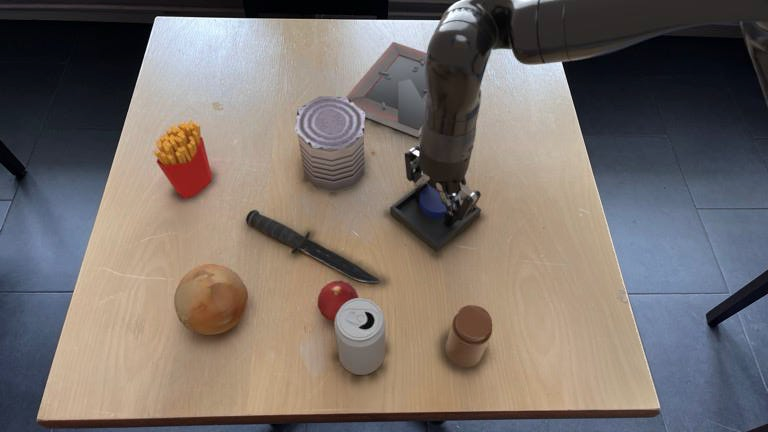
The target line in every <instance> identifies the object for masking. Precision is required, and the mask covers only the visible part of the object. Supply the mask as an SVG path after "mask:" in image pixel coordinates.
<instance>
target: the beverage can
mask: <svg viewBox="0 0 768 432" xmlns="http://www.w3.org/2000/svg"><path fill="white" fill-rule="evenodd" d="M333 324H334V332H335V339H336V346H337V352H338V358H339V361H340V364H341V365H342V367H343V368H344V369H345V370H346V371H348V372H349V373H351V374H354V375H357V376H365V375H366V376H367V375H369V374H372V373H374V372H375V371H376V370H378V369H379V368H380V366H381V365H382V364H383V362H384V358H385V351H386V349H385V348H386V316H385V314H384V312H383V310H382V309H381V308H380V307H379V305H378V304H377V303H376V302H374V301H373V300H371V299H368V298H364V297H358V298H355V299H352V300H349V301H347V302H346V303H345V304H343V305H342V307H341V308H340V310H339V311H338V313H337V314H336V317H335V322H333Z"/></svg>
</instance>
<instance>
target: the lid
mask: <svg viewBox="0 0 768 432" xmlns="http://www.w3.org/2000/svg"><path fill="white" fill-rule="evenodd" d="M448 196H449V195H448ZM454 204H455V203H453V205H454ZM418 205H419V208H420V210H421V212H422V213H423V214H424V215H426V216H427V217H429V218H432V219H443V218H445V214H446V212H447V210H446V206H445V204H443V203H442V201H441V197H440V193H439V192H438V191H437V190H436V189H434V188H432V187H431V186H427V187H425V188H424V189H423V190H422V191H421V193H420V198H419V204H418Z"/></svg>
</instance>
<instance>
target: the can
mask: <svg viewBox="0 0 768 432" xmlns="http://www.w3.org/2000/svg"><path fill="white" fill-rule="evenodd" d="M365 122H366V117H365V112H363V111H362V110H361V109H360V108H359V107H357V106H356V105H355V104H354V103H353V102H352V101H350V100H349V99H348V98H347V96H345V97H344V96H327V95H318V96H316V97H315V98H314V99H312V100H311V101H308V102H307V103H306V104H304V105H303V106H301V107H299V108H298V109H297V113H296V118H295V124H294V125H295V126H294V132H295V133H296V134H297V139H298V140H297V141H298V144H299V145H298V146H299V151H300V158H301V164H302V169H303V175H304V178H305V179H306V180H307V181H308V182H309V183H310V184H311V186H313V188H314V189H315V190H320V191H326V192H329V193H334V194H335V193H340V192H342V191H346V190H349V189H353V188H354V187H355V186H357V184H358V183H359V182H360V181H361V180H362V178H363V177H364V176H365V174H366V173H365V138H364V137H365V126H366V125H365V124H366V123H365Z"/></svg>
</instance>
